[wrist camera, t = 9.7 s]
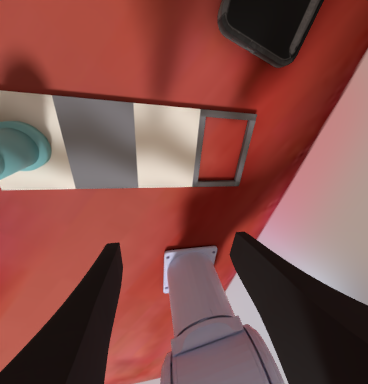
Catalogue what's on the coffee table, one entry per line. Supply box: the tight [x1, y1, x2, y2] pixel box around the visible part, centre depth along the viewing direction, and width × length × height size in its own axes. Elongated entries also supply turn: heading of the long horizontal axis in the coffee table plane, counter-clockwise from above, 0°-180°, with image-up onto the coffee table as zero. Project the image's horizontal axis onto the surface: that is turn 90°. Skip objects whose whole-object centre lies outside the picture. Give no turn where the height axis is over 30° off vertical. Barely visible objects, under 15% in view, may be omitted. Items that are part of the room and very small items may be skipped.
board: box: [0, 90, 257, 190], centre depth 15 cm, size 8×24×1 cm, turn 86°
